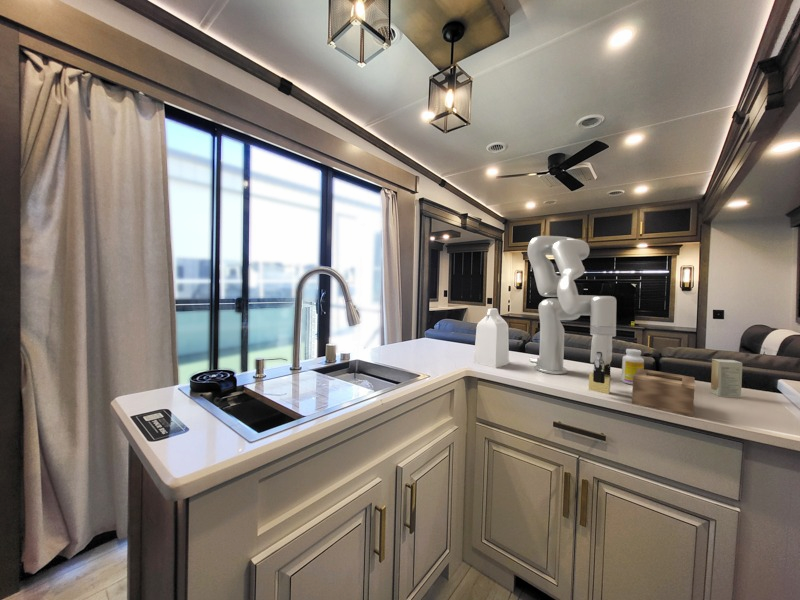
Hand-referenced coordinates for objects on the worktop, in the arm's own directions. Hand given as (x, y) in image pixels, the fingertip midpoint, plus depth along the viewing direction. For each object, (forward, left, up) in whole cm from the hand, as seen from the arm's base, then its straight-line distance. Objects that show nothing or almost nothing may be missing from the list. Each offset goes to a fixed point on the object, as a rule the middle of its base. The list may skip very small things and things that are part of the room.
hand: (601, 379), depth 107 cm
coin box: (+16, +1, -4) cm, 17 cm away
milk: (-46, +8, -5) cm, 47 cm away
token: (-1, +1, -4) cm, 5 cm away
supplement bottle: (+6, +21, -5) cm, 22 cm away
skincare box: (+31, +28, -5) cm, 42 cm away
